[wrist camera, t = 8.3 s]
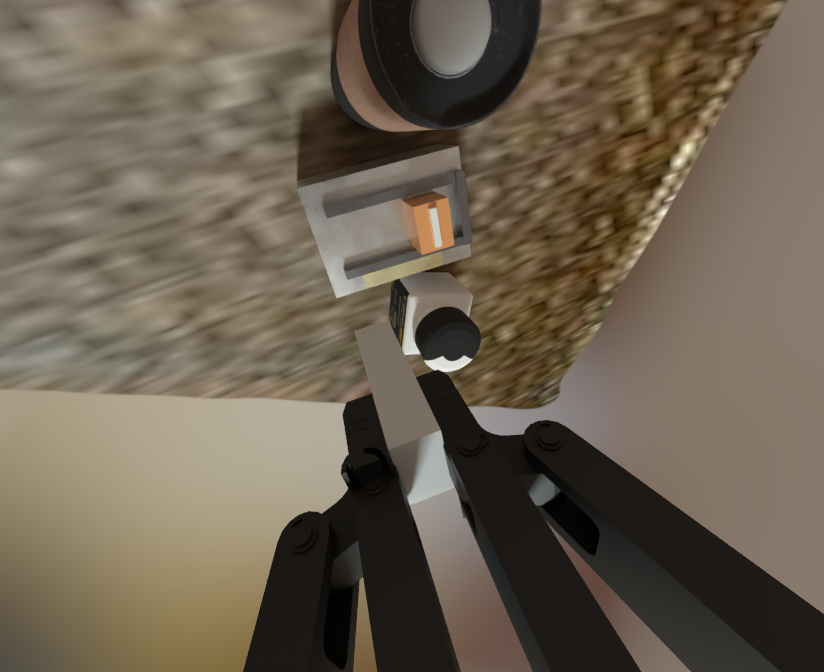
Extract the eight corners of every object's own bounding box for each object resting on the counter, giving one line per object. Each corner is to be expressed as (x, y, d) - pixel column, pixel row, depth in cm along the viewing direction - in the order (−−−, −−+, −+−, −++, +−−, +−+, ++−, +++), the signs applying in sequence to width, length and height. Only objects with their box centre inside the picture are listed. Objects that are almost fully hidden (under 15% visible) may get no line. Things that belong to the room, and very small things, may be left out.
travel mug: (391, 5, 28) (525, -177, 12) (425, 108, 32) (558, 84, 16) (309, 49, 28) (324, -71, 11) (354, 146, 32) (412, 162, 16)
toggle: (401, 200, 30) (414, 208, 27) (433, 191, 30) (449, 198, 27) (410, 243, 32) (423, 256, 29) (440, 235, 33) (456, 246, 29)
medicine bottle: (392, 270, 39) (424, 317, 30) (449, 271, 42) (497, 315, 32) (387, 325, 43) (414, 383, 33) (440, 323, 45) (481, 377, 35)
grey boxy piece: (297, 179, 32) (296, 190, 26) (435, 143, 34) (464, 146, 28) (331, 276, 38) (337, 303, 32) (449, 240, 40) (475, 260, 34)
